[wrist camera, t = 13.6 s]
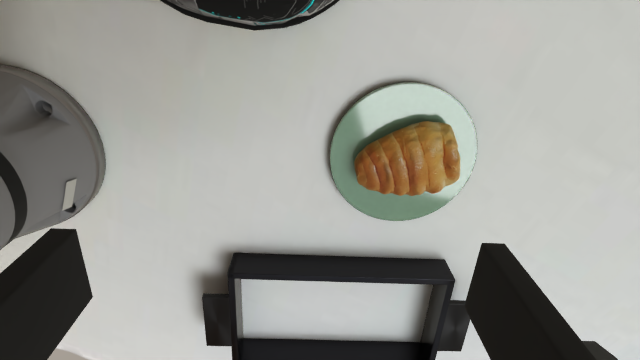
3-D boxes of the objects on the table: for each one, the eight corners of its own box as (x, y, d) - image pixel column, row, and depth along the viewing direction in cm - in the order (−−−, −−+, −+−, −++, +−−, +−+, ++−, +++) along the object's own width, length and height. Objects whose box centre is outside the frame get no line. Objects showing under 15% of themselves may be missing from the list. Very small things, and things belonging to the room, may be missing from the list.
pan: (215, 341, 48) (208, 366, 45) (208, 251, 42) (199, 272, 39) (446, 346, 49) (455, 370, 46) (469, 260, 43) (481, 280, 40)
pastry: (360, 198, 39) (365, 217, 35) (346, 135, 36) (350, 149, 32) (454, 177, 38) (469, 195, 34) (448, 111, 35) (463, 123, 32)
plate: (325, 213, 40) (325, 218, 40) (334, 77, 35) (335, 79, 34) (457, 218, 41) (460, 223, 40) (488, 85, 35) (493, 87, 34)
